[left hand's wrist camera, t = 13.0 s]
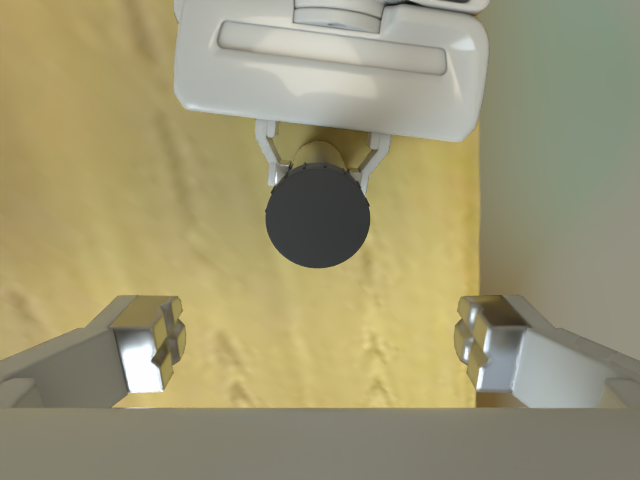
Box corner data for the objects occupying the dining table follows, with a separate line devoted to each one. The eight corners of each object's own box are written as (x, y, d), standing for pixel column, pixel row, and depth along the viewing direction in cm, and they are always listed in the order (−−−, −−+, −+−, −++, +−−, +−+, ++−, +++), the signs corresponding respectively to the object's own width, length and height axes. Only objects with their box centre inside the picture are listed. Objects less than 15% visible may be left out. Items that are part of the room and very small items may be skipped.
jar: (302, 133, 32) (289, 162, 18) (350, 150, 32) (375, 191, 18) (287, 181, 33) (263, 243, 19) (333, 197, 34) (343, 268, 20)
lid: (286, 147, 19) (282, 152, 17) (381, 180, 19) (387, 188, 18) (258, 237, 21) (252, 251, 19) (346, 265, 21) (348, 281, 19)
